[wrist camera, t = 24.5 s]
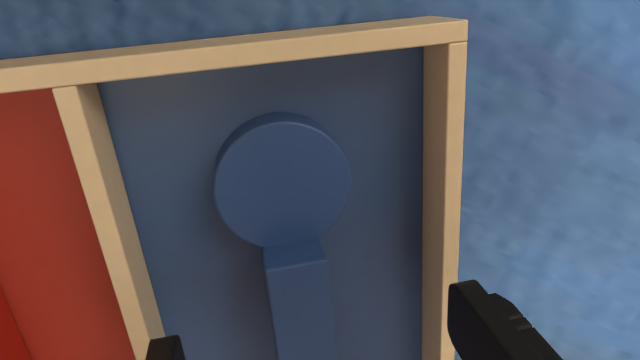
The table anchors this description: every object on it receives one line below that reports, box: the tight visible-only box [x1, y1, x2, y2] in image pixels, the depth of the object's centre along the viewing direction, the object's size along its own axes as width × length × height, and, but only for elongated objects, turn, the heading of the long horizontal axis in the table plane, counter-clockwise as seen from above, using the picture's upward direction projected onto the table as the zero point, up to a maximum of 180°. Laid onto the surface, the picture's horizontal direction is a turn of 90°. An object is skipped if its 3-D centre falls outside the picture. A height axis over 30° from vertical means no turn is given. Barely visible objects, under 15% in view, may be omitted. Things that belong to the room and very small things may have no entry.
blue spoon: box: [213, 113, 351, 360], centre depth 16 cm, size 12×4×2 cm, turn 5°
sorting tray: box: [0, 16, 468, 360], centre depth 16 cm, size 18×22×3 cm
